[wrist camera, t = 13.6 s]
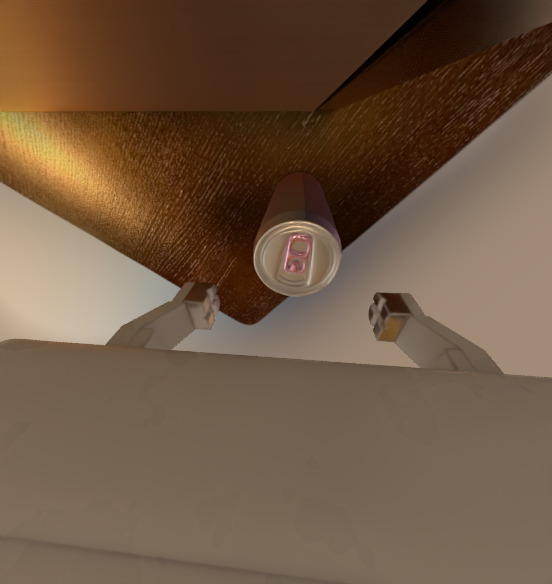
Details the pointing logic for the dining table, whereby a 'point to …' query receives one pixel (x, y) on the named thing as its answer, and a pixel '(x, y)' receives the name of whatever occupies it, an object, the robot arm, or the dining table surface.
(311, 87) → the oven
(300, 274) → the beverage can
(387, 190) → the dining table surface
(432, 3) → the oven door
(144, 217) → the dining table surface
